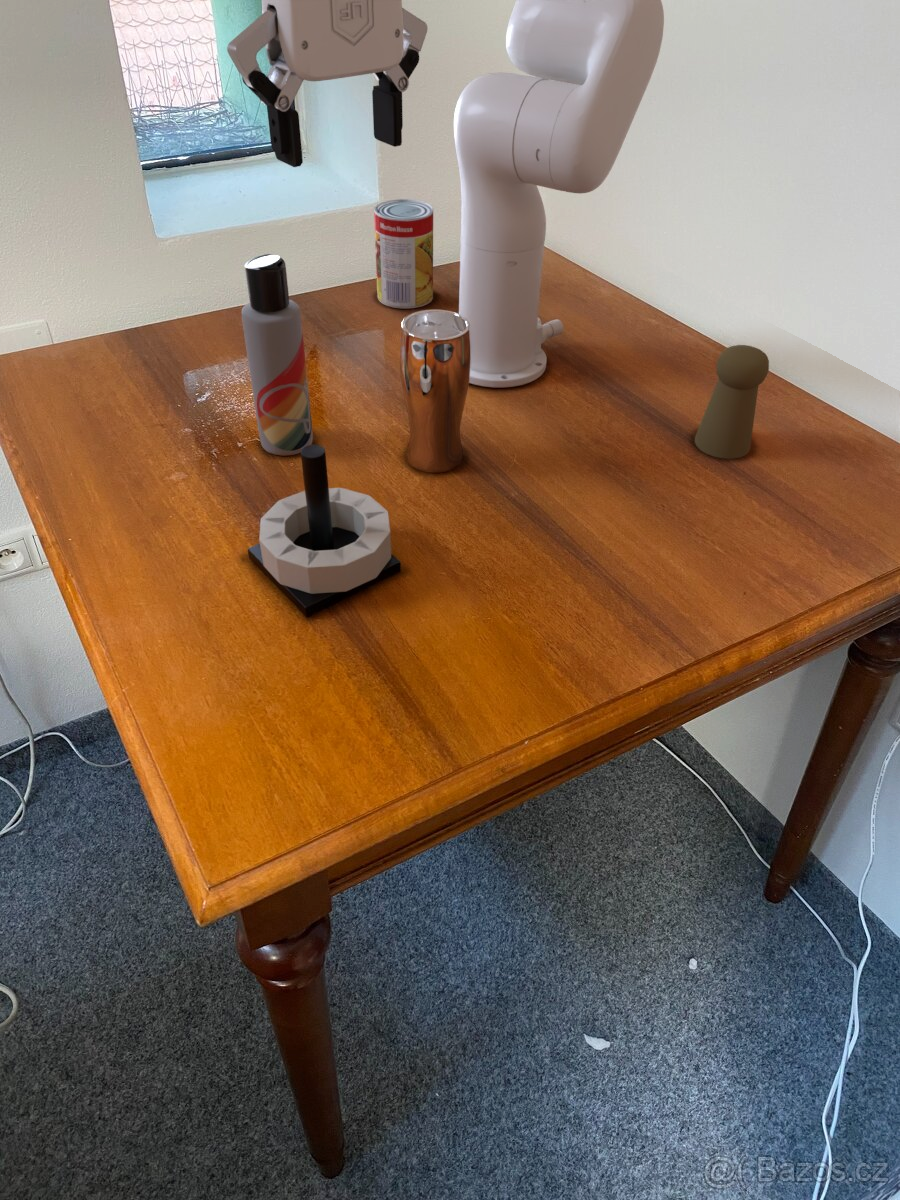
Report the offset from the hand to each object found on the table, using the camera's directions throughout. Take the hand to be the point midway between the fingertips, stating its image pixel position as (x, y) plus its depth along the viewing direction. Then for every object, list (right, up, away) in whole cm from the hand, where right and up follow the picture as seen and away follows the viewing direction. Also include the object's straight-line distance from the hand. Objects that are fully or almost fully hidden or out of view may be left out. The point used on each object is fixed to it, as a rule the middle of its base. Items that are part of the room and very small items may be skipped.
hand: (340, 152), depth 72 cm
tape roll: (-2, -33, +7) cm, 33 cm away
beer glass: (+7, -22, +22) cm, 32 cm away
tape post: (-2, -34, +8) cm, 35 cm away
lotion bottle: (-9, -20, +23) cm, 32 cm away
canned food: (+3, +6, +52) cm, 52 cm away
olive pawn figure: (+39, -20, +25) cm, 50 cm away
